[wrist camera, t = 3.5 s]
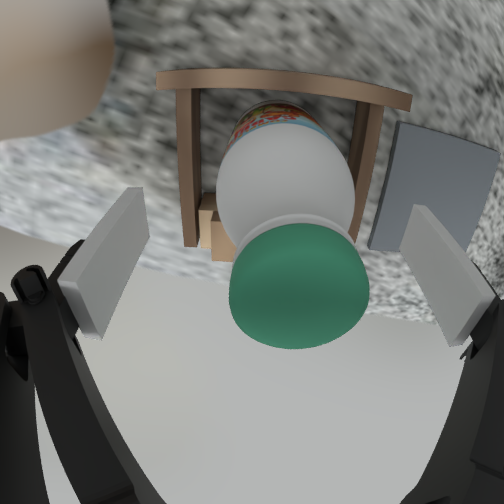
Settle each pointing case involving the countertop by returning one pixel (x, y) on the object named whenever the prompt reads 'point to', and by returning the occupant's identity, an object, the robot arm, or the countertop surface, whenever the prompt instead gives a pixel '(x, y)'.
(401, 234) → the rubber mat
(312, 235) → the milk bottle
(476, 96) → the countertop surface
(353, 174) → the frame
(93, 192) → the countertop surface
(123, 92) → the countertop surface
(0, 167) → the countertop surface
